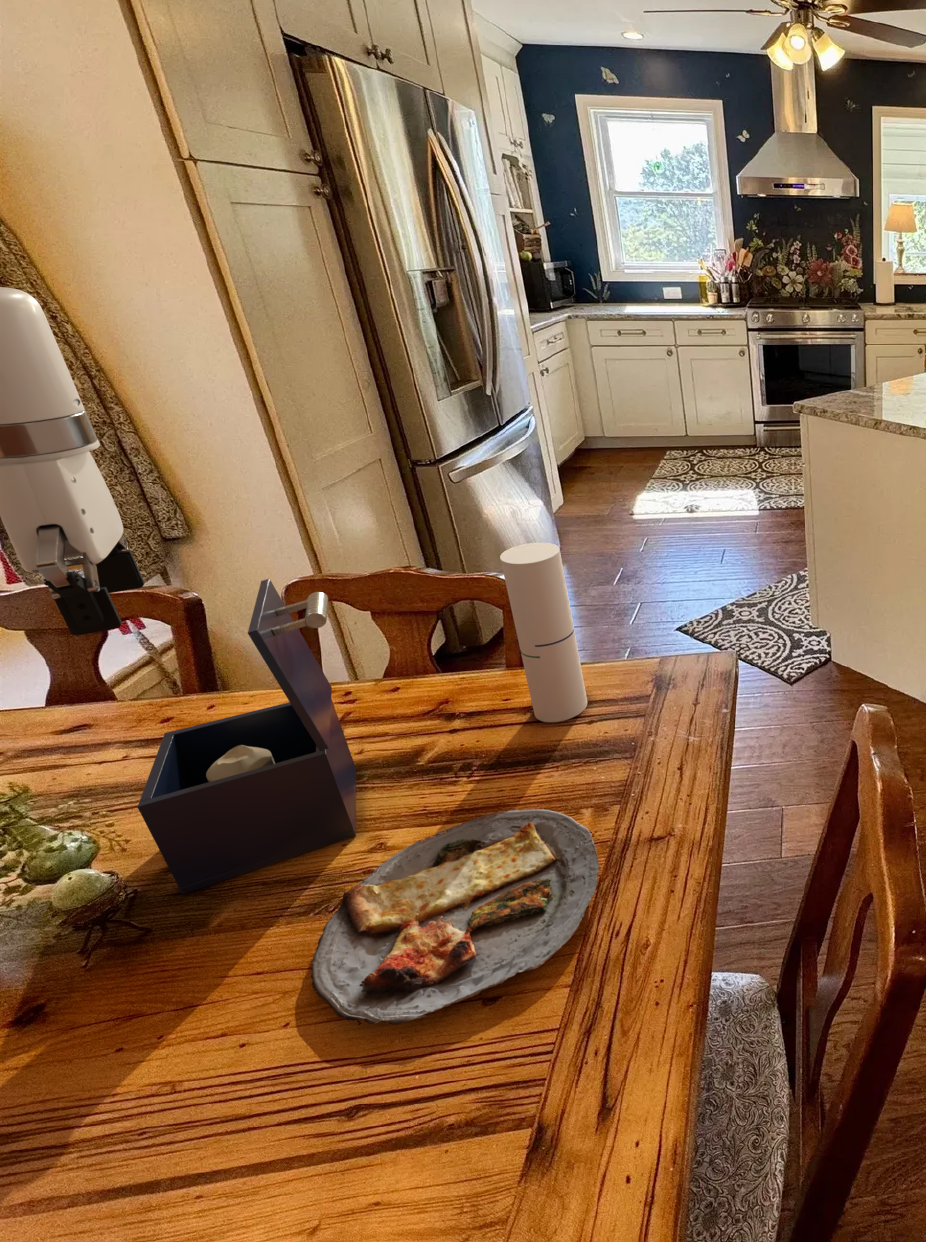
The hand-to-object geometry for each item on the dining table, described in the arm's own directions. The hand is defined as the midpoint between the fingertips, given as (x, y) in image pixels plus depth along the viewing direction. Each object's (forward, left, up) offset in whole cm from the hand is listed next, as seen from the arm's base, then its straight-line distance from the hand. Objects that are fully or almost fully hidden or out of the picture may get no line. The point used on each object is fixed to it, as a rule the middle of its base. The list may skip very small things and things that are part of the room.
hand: (111, 609), depth 71 cm
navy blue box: (+5, 0, -30) cm, 31 cm away
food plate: (+22, -26, -30) cm, 46 cm away
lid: (+11, 0, -10) cm, 15 cm away
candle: (+4, 0, -29) cm, 30 cm away
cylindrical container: (+37, +7, -30) cm, 48 cm away
